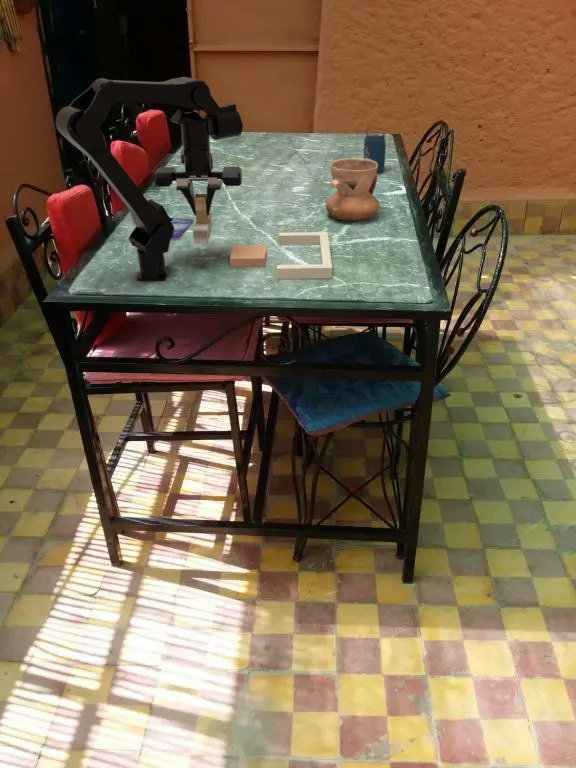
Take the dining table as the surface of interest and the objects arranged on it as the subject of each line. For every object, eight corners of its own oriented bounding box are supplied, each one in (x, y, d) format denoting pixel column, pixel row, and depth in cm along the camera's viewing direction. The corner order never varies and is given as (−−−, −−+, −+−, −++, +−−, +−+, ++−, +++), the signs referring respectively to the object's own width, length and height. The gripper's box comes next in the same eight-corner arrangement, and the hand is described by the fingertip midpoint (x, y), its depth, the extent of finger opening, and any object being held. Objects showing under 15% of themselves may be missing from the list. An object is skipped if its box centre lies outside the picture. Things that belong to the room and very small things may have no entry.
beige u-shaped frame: (327, 241, 158) (327, 232, 157) (331, 278, 140) (332, 267, 139) (279, 242, 158) (279, 232, 157) (277, 279, 140) (277, 268, 139)
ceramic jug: (350, 230, 165) (353, 175, 157) (311, 217, 173) (311, 164, 166) (394, 214, 175) (399, 161, 167) (355, 202, 184) (357, 152, 176)
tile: (265, 268, 146) (264, 258, 145) (230, 269, 146) (229, 258, 145) (266, 255, 153) (265, 245, 152) (233, 255, 153) (232, 245, 152)
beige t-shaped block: (207, 243, 141) (204, 203, 136) (194, 244, 141) (190, 204, 136) (212, 225, 151) (209, 187, 146) (199, 225, 151) (196, 187, 146)
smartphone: (195, 219, 173) (178, 239, 160) (195, 222, 173) (179, 242, 161) (168, 217, 174) (150, 237, 161) (169, 220, 174) (151, 240, 162)
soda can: (386, 170, 211) (389, 132, 204) (380, 175, 206) (382, 137, 199) (366, 168, 213) (368, 130, 207) (360, 173, 208) (361, 135, 202)
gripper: (241, 134, 142) (244, 203, 151) (158, 135, 142) (166, 204, 151) (239, 146, 133) (242, 219, 141) (149, 146, 133) (158, 219, 141)
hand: (202, 215), depth 144 cm, fingers closed on beige t-shaped block, 2 cm apart
